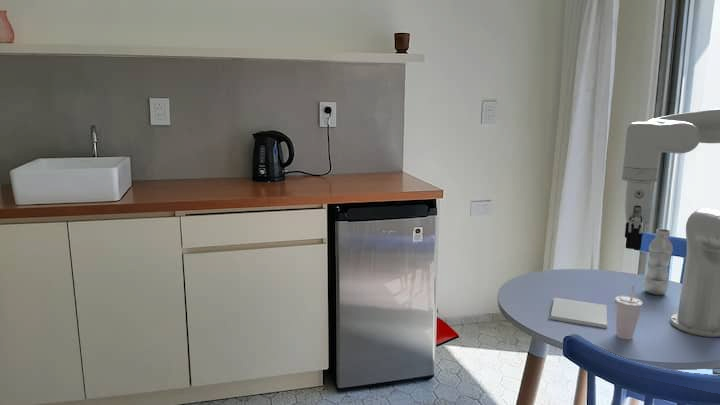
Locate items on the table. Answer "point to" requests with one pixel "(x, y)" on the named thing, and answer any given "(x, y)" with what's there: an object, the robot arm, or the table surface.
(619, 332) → the smoothie
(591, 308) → the tile
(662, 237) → the plastic bottle
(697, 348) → the table surface
